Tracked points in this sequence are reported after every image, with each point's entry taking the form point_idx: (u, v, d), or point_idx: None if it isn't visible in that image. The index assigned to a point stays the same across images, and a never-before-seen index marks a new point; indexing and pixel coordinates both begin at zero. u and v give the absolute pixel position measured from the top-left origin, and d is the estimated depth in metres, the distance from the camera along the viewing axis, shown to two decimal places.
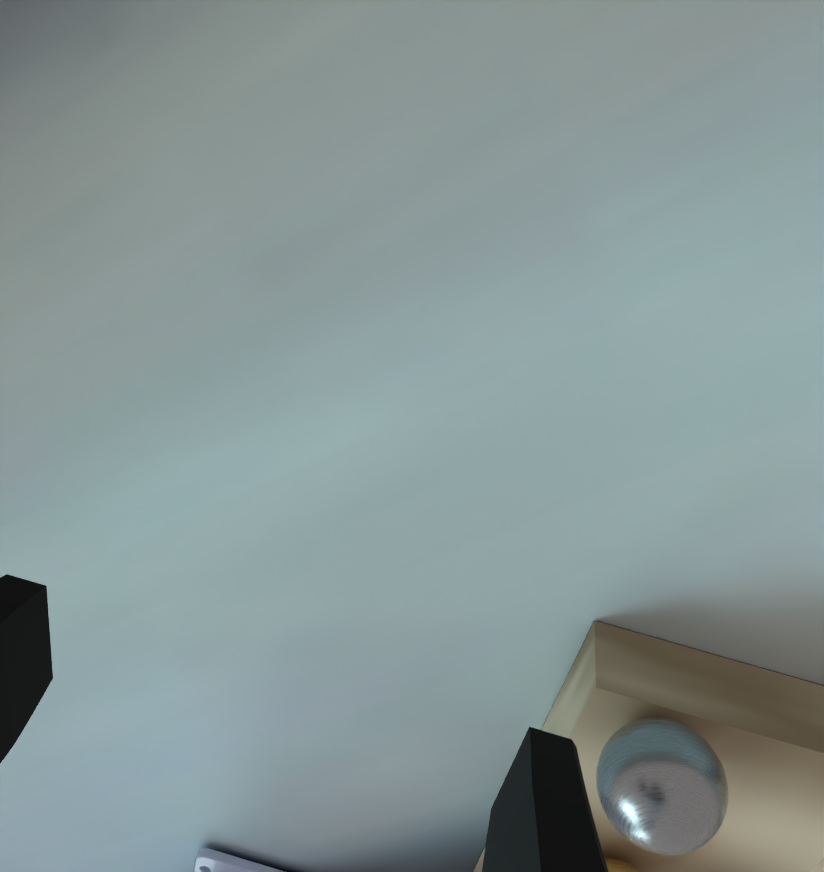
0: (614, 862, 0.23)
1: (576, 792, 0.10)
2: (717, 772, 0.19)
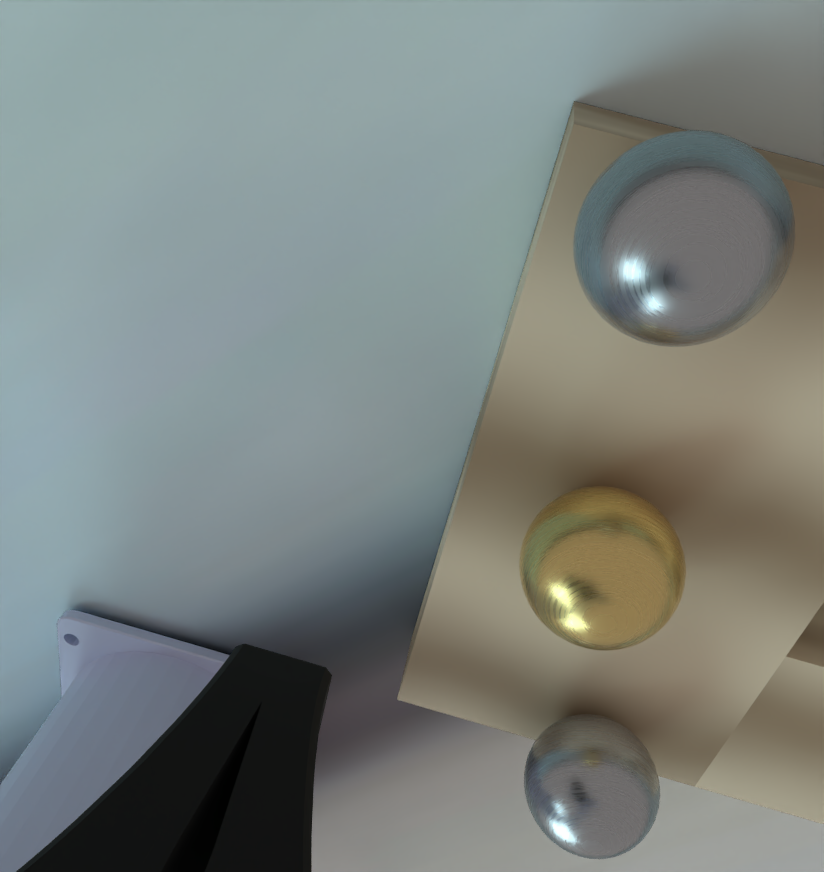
0: (604, 486, 0.16)
1: (306, 712, 0.10)
2: (778, 175, 0.11)
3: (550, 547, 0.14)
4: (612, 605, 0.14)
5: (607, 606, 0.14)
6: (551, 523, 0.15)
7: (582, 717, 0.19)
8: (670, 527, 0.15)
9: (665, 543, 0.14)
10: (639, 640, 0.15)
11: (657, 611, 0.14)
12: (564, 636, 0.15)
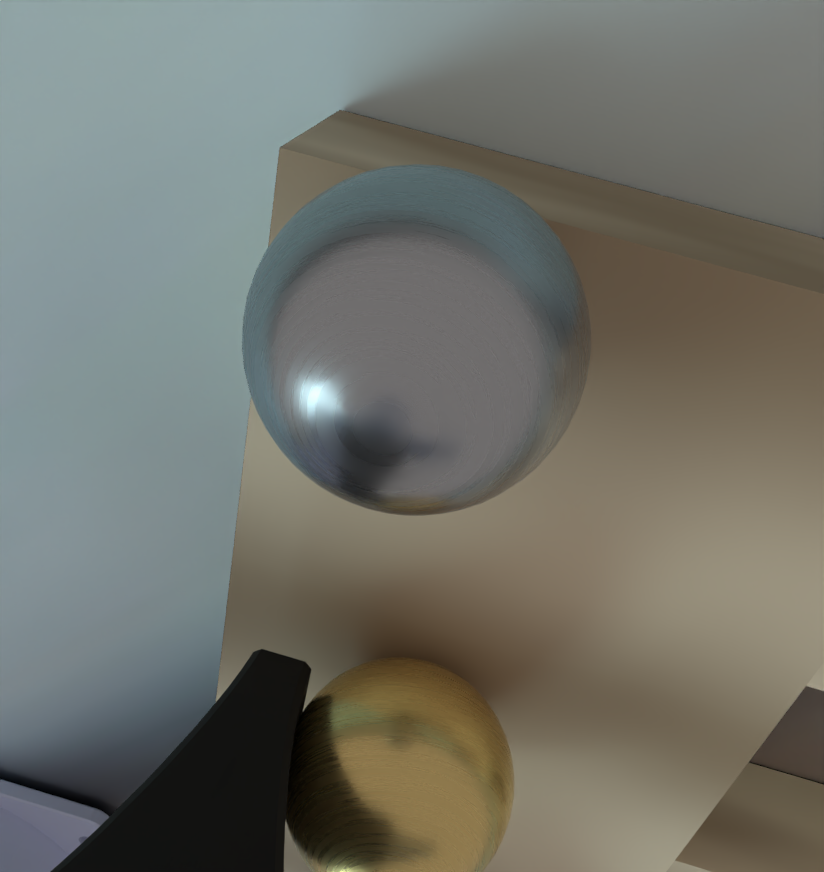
0: (400, 659, 0.11)
1: (284, 704, 0.10)
2: (549, 244, 0.06)
3: (308, 778, 0.10)
4: (395, 871, 0.09)
5: None
6: (313, 735, 0.10)
7: None
8: (486, 726, 0.10)
9: (475, 761, 0.10)
10: None
11: (464, 867, 0.10)
12: None
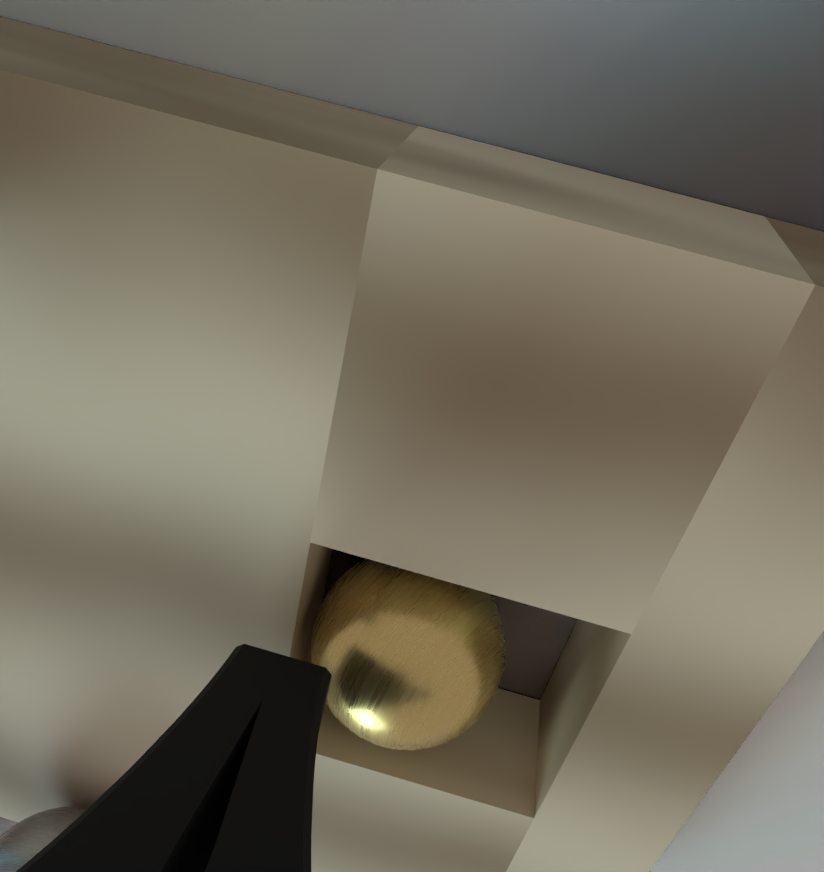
0: (480, 626, 0.12)
1: (306, 712, 0.10)
2: None
3: None
4: None
5: None
6: None
7: (48, 814, 0.14)
8: (385, 637, 0.11)
9: (364, 608, 0.12)
10: None
11: (316, 617, 0.13)
12: None
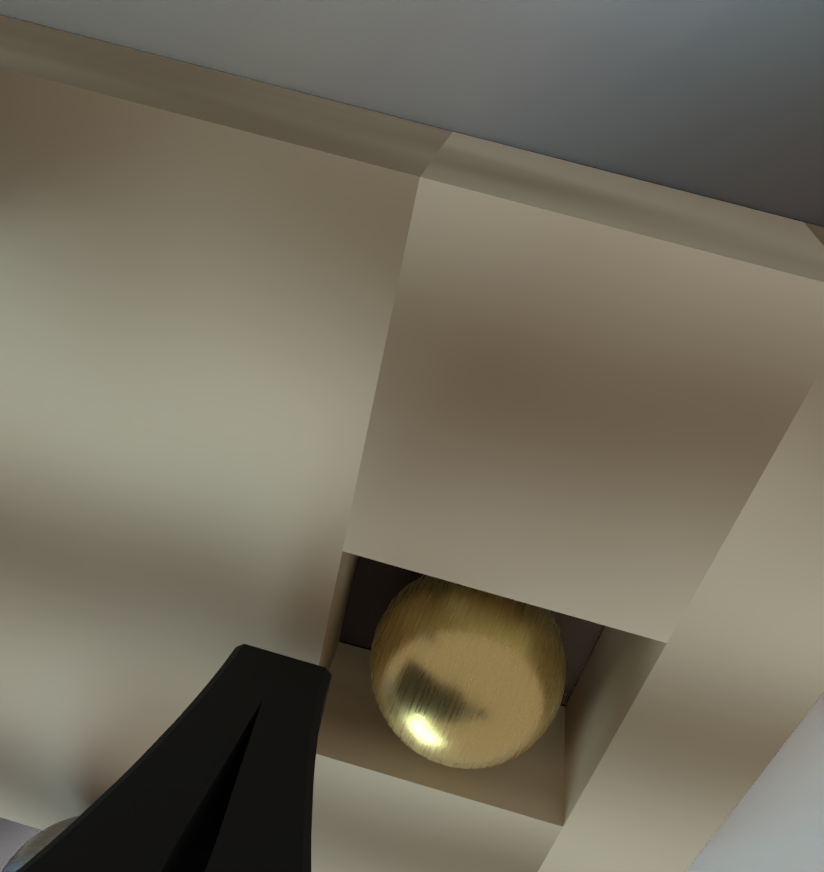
0: (550, 631, 0.12)
1: (307, 712, 0.10)
2: None
3: None
4: (386, 610, 0.13)
5: (387, 608, 0.13)
6: None
7: (72, 822, 0.14)
8: (474, 667, 0.11)
9: (442, 643, 0.11)
10: (372, 685, 0.13)
11: (379, 660, 0.12)
12: None
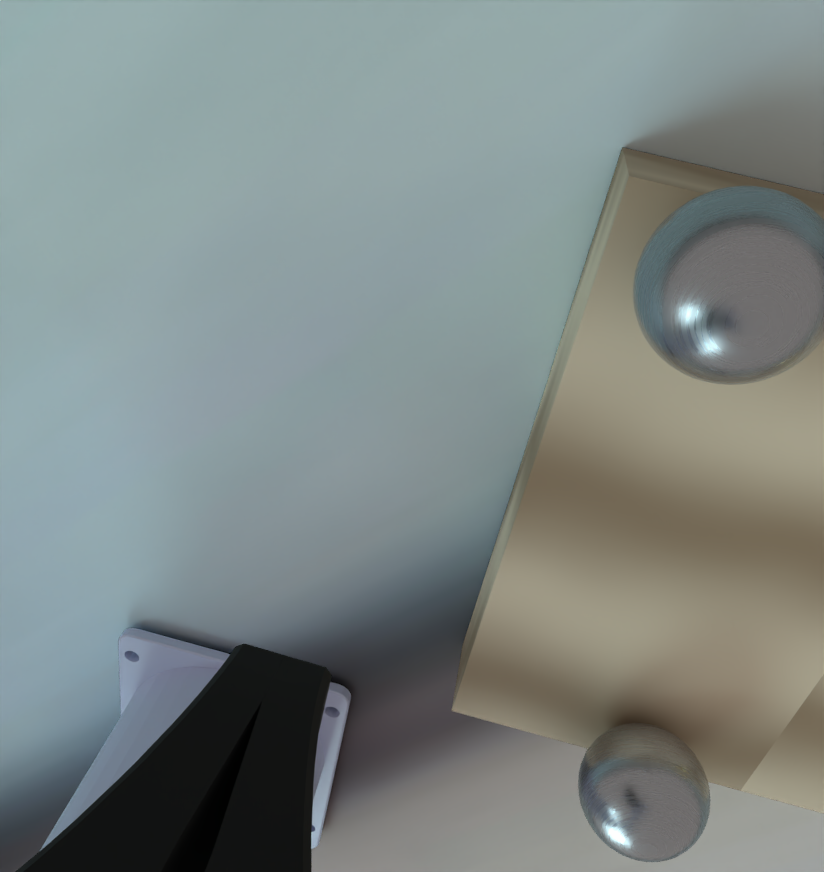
0: None
1: (306, 712, 0.10)
2: None
3: None
4: None
5: None
6: None
7: (633, 726, 0.20)
8: None
9: None
10: None
11: None
12: None
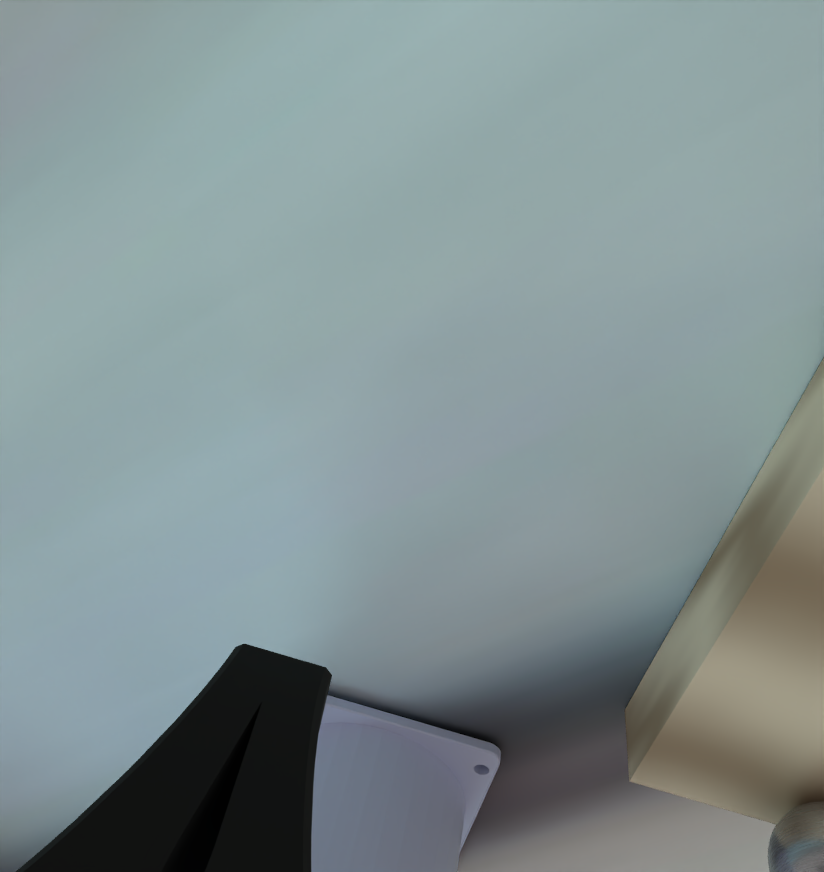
0: None
1: (306, 712, 0.10)
2: None
3: None
4: None
5: None
6: None
7: None
8: None
9: None
10: None
11: None
12: None
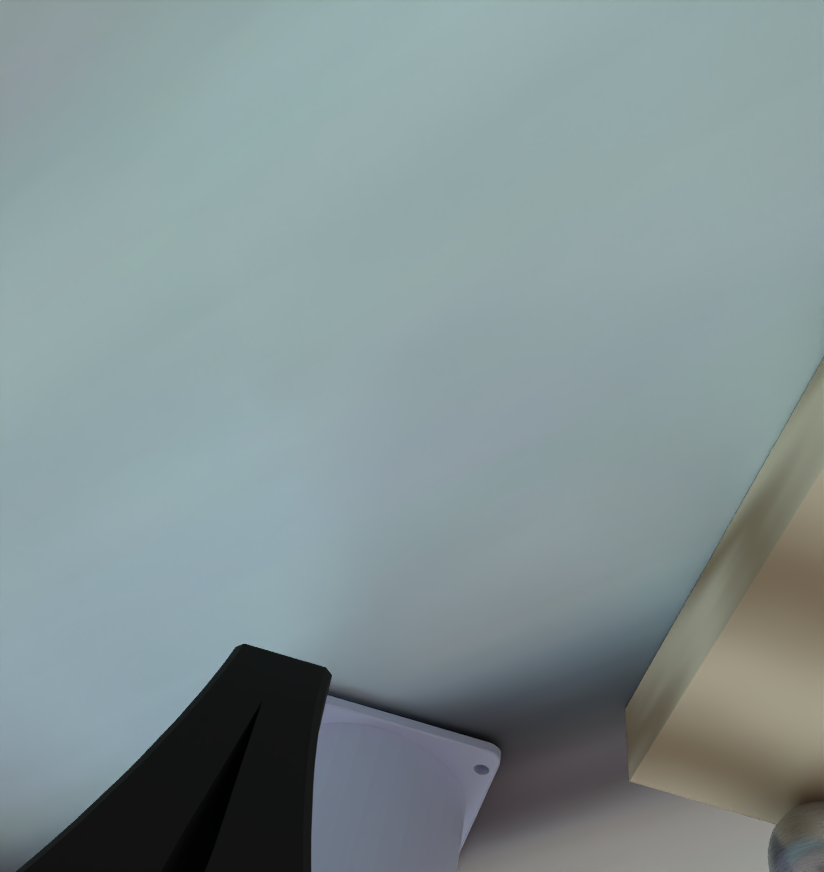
0: None
1: (306, 712, 0.10)
2: None
3: None
4: None
5: None
6: None
7: None
8: None
9: None
10: None
11: None
12: None
